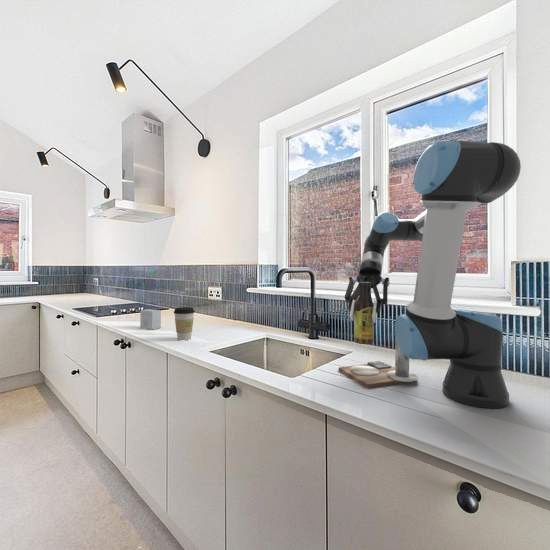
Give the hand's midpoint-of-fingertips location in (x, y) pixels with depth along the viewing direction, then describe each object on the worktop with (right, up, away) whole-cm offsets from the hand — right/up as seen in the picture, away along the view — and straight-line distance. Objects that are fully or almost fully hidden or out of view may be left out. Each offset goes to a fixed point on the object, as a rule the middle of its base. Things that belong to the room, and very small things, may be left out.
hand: (362, 318), depth 97 cm
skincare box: (-99, -17, +80) cm, 129 cm away
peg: (+12, -17, -2) cm, 21 cm away
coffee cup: (-72, -18, +53) cm, 91 cm away
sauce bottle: (+2, -9, +4) cm, 9 cm away
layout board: (+6, -19, +1) cm, 20 cm away
